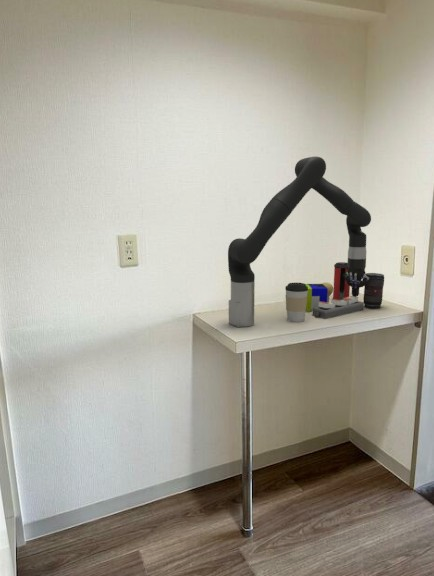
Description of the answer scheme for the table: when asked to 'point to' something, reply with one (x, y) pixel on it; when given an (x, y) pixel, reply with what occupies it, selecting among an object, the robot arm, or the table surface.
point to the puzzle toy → (315, 295)
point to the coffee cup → (296, 301)
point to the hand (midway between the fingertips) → (355, 296)
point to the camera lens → (373, 291)
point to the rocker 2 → (339, 302)
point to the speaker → (340, 281)
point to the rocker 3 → (350, 299)
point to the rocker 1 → (326, 305)
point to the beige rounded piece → (330, 290)
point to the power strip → (337, 310)
